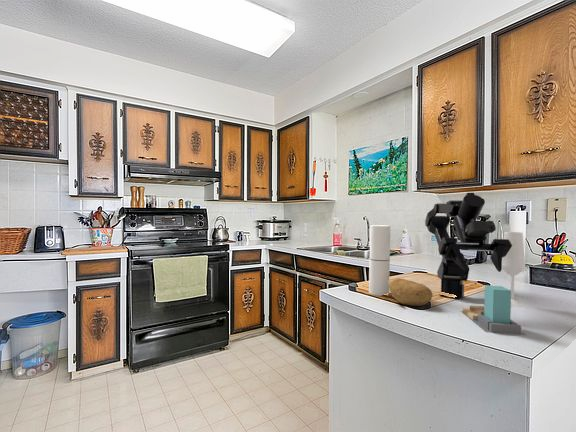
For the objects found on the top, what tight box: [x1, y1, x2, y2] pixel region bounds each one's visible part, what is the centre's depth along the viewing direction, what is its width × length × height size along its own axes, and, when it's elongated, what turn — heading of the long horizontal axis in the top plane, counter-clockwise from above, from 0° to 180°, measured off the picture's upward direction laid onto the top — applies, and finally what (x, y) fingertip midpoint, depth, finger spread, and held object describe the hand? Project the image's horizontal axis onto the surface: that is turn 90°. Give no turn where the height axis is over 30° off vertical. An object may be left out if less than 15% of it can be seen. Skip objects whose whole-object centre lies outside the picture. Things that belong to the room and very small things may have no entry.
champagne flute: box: [502, 231, 526, 308], centre depth 100 cm, size 7×7×24 cm
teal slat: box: [483, 284, 512, 324], centre depth 78 cm, size 4×4×10 cm
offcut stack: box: [461, 305, 484, 320], centre depth 85 cm, size 7×8×2 cm
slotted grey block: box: [460, 310, 527, 336], centre depth 81 cm, size 16×9×3 cm, turn 171°
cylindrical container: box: [368, 224, 391, 297], centre depth 111 cm, size 7×7×25 cm
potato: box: [389, 278, 434, 307], centre depth 98 cm, size 10×14×8 cm
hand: (482, 270), depth 86 cm, fingers open, 9 cm apart
